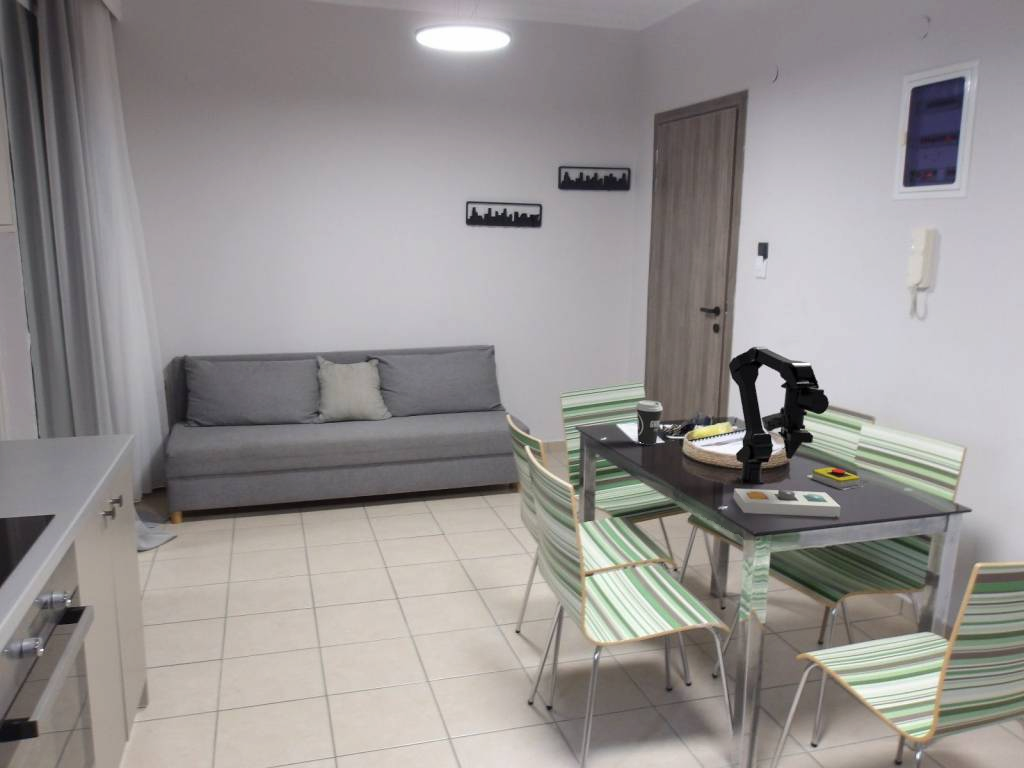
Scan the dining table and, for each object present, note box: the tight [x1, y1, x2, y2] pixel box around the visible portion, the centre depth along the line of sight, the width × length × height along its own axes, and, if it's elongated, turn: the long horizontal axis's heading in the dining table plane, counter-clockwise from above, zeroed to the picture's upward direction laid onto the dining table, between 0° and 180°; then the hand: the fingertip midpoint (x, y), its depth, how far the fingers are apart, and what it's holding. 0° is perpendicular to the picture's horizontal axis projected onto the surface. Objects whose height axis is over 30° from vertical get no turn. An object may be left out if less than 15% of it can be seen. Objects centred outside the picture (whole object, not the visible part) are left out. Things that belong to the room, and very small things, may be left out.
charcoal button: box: [778, 489, 795, 501], centre depth 224 cm, size 4×4×2 cm
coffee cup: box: [635, 400, 664, 444], centre depth 287 cm, size 10×10×15 cm
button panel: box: [733, 488, 841, 518], centre depth 224 cm, size 12×26×3 cm, turn 88°
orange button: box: [749, 492, 766, 499], centre depth 224 cm, size 4×4×2 cm
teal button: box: [806, 494, 823, 502], centre depth 224 cm, size 4×4×2 cm
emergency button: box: [806, 467, 864, 491], centre depth 250 cm, size 9×4×15 cm
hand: (788, 458), depth 231 cm, fingers closed
